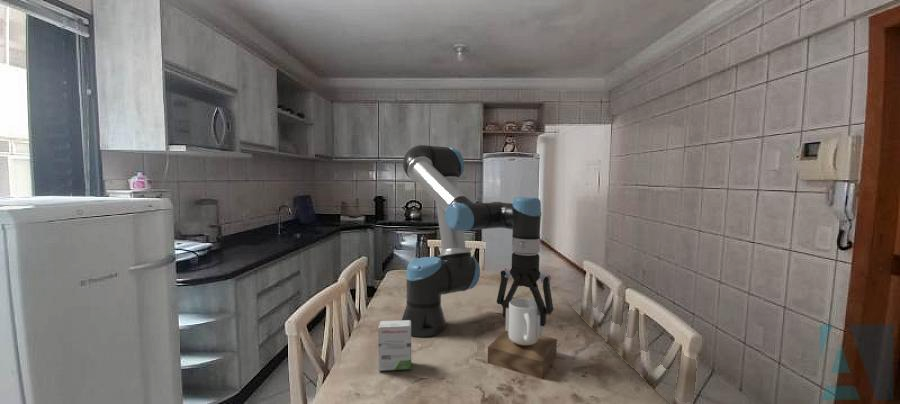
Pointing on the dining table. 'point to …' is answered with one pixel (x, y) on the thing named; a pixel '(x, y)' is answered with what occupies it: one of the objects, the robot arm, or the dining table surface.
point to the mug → (523, 321)
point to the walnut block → (523, 355)
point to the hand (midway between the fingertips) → (523, 332)
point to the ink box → (394, 345)
